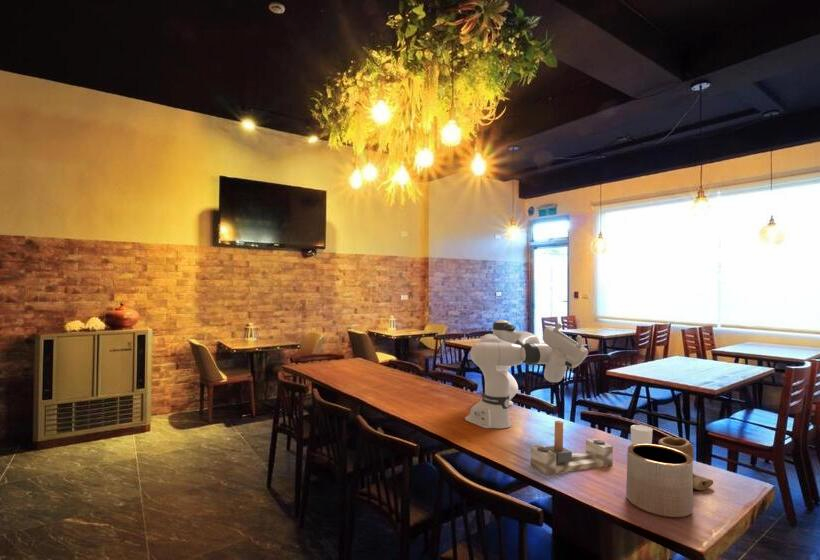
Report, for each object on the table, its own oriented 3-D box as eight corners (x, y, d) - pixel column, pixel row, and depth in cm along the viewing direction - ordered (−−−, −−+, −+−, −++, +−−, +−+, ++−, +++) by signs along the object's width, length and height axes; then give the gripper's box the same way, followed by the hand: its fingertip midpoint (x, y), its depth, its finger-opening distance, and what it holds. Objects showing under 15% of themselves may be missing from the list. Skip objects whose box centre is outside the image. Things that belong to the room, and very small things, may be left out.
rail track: (545, 475, 153) (545, 454, 153) (530, 465, 161) (530, 445, 162) (612, 465, 163) (612, 445, 163) (594, 456, 172) (595, 437, 172)
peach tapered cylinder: (557, 465, 156) (558, 425, 156) (545, 458, 163) (546, 419, 163) (571, 463, 158) (572, 424, 158) (558, 456, 165) (559, 418, 165)
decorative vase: (518, 400, 254) (518, 357, 254) (517, 408, 237) (518, 362, 237) (487, 397, 259) (488, 355, 259) (484, 405, 242) (485, 360, 242)
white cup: (640, 457, 171) (641, 431, 172) (625, 449, 179) (626, 425, 179) (656, 455, 174) (657, 430, 174) (641, 448, 181) (641, 424, 181)
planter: (676, 526, 122) (677, 470, 122) (614, 500, 136) (615, 450, 136) (702, 508, 132) (703, 456, 132) (643, 486, 146) (643, 439, 147)
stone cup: (650, 479, 151) (650, 436, 152) (666, 471, 158) (666, 430, 159) (698, 497, 139) (699, 450, 139) (714, 488, 146) (714, 443, 146)
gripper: (546, 337, 200) (553, 314, 192) (585, 364, 188) (594, 340, 180) (537, 343, 197) (545, 319, 189) (576, 370, 184) (586, 346, 176)
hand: (569, 330), depth 184 cm, fingers open, 8 cm apart
